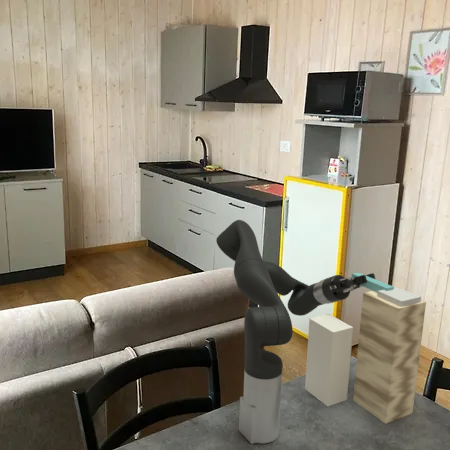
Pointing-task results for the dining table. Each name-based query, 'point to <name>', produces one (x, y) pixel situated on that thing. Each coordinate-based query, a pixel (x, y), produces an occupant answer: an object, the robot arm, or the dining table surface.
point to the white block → (328, 359)
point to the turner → (390, 292)
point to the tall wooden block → (388, 357)
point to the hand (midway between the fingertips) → (369, 277)
